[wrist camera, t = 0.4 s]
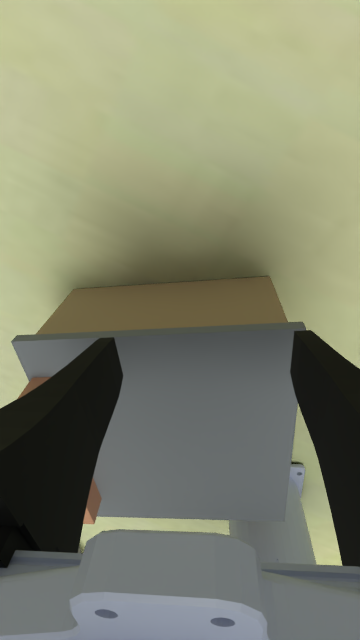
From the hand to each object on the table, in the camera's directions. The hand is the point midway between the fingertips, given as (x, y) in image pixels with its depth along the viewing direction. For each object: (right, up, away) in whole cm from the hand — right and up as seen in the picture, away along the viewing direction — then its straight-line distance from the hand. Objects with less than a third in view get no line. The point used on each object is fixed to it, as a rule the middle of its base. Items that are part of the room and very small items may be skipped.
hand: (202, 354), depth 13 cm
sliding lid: (-1, -6, +8) cm, 10 cm away
